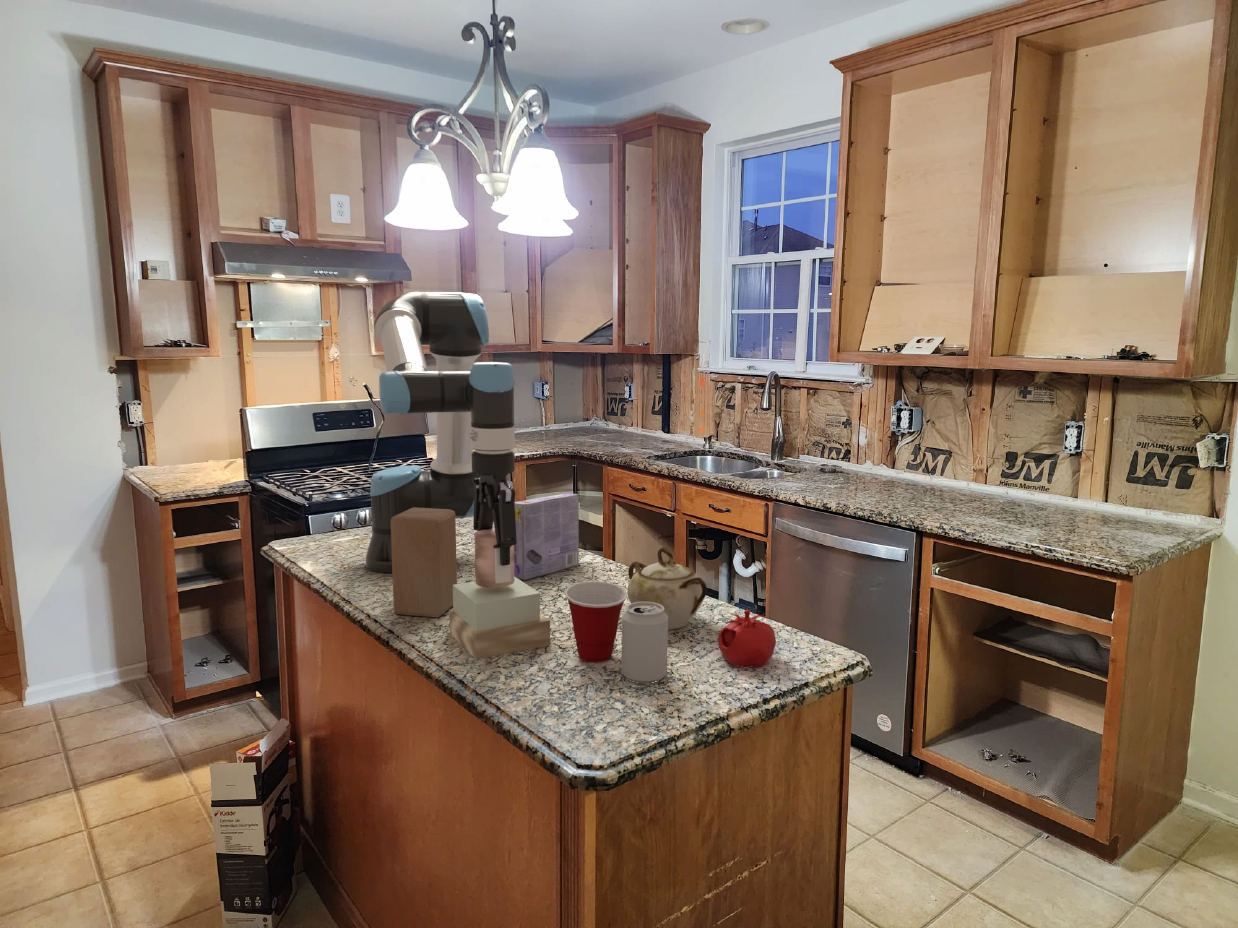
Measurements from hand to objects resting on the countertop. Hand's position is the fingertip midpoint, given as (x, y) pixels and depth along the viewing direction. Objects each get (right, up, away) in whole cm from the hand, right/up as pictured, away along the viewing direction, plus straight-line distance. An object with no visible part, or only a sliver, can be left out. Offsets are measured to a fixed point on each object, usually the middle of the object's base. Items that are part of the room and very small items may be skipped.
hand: (494, 575), depth 146 cm
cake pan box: (+6, -5, +44) cm, 45 cm away
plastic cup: (+18, -14, -6) cm, 23 cm away
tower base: (0, -12, +2) cm, 12 cm away
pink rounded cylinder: (0, -1, 0) cm, 1 cm away
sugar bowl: (+31, -11, +11) cm, 35 cm away
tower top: (0, -7, +1) cm, 7 cm away
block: (-17, -9, +17) cm, 26 cm away
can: (+27, -15, -13) cm, 33 cm away
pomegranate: (+44, -14, -6) cm, 47 cm away
